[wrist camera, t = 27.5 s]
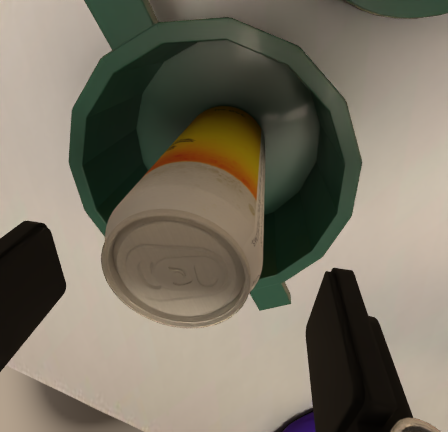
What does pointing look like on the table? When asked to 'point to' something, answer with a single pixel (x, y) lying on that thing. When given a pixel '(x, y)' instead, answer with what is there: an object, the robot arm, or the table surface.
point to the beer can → (193, 225)
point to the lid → (402, 7)
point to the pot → (208, 98)
